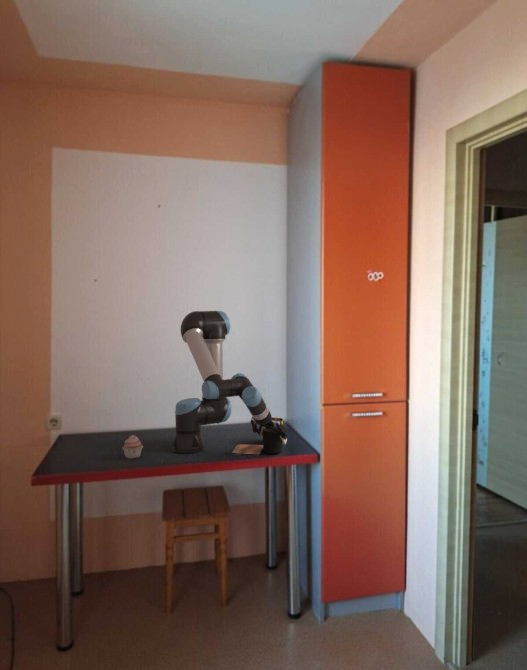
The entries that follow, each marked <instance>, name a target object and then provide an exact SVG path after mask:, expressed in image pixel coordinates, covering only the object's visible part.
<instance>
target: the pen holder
mask: <svg viewBox="0 0 527 670" xmlns="http://www.w3.org/2000/svg"><path fill="white" fill-rule="evenodd" d="M261 430H262V431H263V439H262V445H263V450H262V451H263V452H264V453H268V454H279V453H281V452H283V446H284V443H283V441H282V439H281V438H280V436H281V435H279V434H278V433H277V432H275V431H274V430H273V429H272V430H271V429H270V428H269V429H265V428H263V427H262V429H261Z"/></svg>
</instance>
